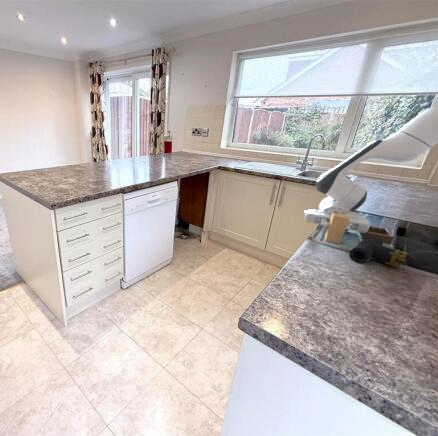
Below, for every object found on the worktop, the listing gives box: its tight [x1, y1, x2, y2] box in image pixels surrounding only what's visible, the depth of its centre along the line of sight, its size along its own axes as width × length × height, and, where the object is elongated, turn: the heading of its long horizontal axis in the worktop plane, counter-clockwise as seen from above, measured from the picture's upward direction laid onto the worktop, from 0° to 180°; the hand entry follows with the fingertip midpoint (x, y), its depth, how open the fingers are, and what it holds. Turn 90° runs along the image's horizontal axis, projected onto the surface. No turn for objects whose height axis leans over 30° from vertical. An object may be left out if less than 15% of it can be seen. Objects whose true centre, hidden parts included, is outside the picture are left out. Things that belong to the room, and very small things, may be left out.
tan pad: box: [324, 212, 349, 245], centre depth 90 cm, size 4×4×10 cm
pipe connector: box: [348, 236, 408, 269], centre depth 79 cm, size 12×5×15 cm
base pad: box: [354, 225, 395, 249], centre depth 92 cm, size 12×9×4 cm
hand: (337, 227), depth 89 cm, fingers closed on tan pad, 4 cm apart
